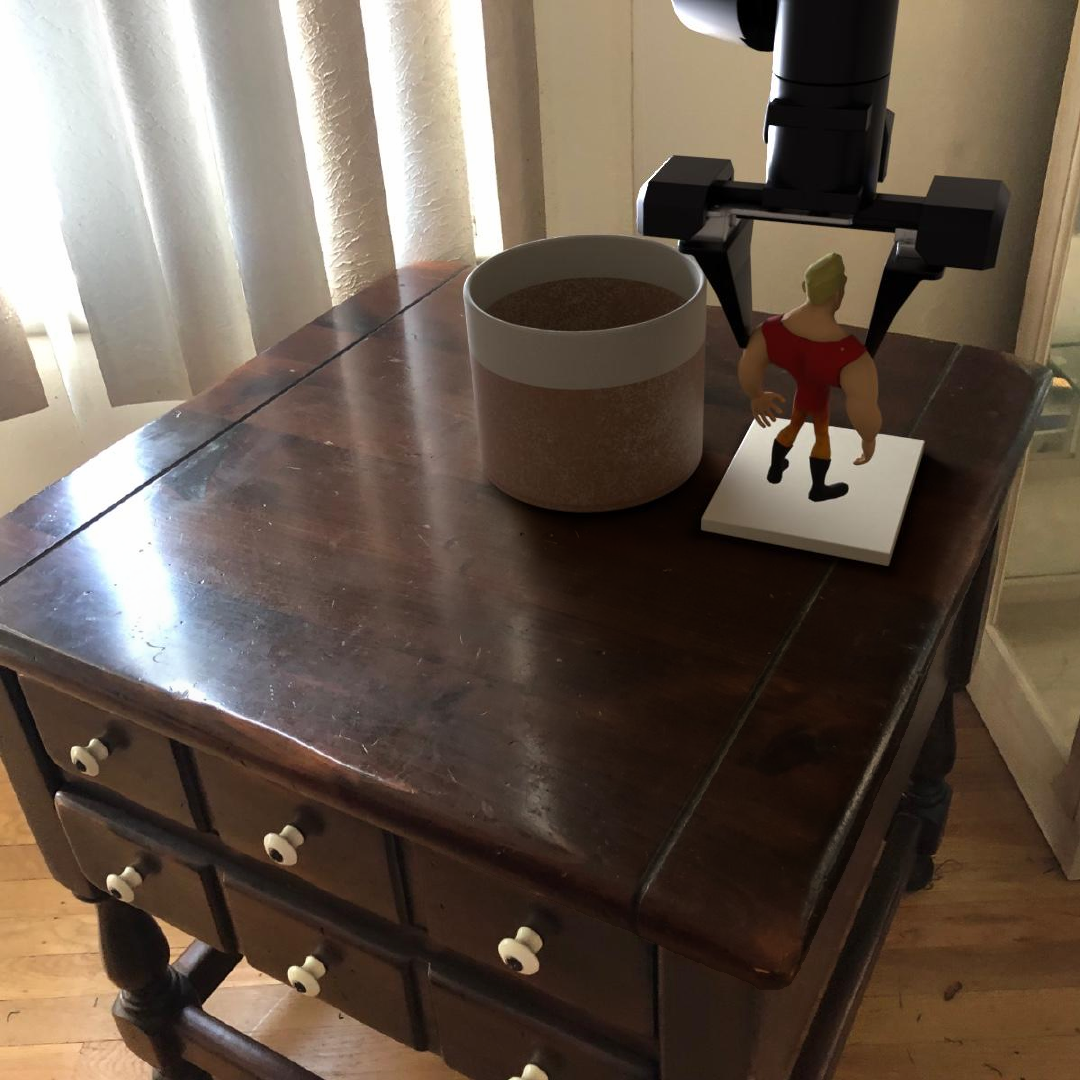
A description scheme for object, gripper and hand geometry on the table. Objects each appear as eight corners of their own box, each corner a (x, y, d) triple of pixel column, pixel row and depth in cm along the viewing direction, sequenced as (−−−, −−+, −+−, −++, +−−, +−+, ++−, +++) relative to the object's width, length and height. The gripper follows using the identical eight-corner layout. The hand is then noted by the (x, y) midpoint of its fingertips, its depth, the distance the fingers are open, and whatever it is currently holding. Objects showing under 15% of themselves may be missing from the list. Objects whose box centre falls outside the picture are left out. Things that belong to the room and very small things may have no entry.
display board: (923, 452, 81) (925, 440, 81) (888, 566, 71) (890, 553, 70) (755, 426, 85) (756, 414, 85) (700, 530, 75) (701, 518, 75)
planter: (709, 408, 88) (715, 234, 80) (692, 528, 75) (697, 337, 67) (507, 399, 91) (492, 231, 83) (458, 514, 78) (435, 329, 70)
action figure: (886, 501, 69) (926, 265, 60) (854, 527, 67) (890, 288, 58) (756, 446, 75) (775, 223, 66) (722, 470, 73) (737, 243, 64)
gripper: (1043, 37, 60) (990, 314, 69) (696, 25, 66) (690, 279, 75) (1026, 98, 52) (969, 403, 61) (632, 77, 58) (634, 355, 67)
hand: (805, 353), depth 66 cm, fingers closed on action figure, 7 cm apart
